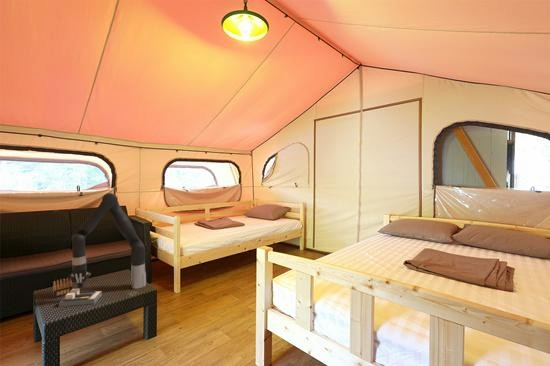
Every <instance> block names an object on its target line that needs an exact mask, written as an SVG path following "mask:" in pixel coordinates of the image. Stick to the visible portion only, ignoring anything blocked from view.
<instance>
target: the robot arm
mask: <svg viewBox="0 0 550 366" xmlns="http://www.w3.org/2000/svg"><path fill="white" fill-rule="evenodd" d="M118 200H119V199H118V196H117V195H116V194H114V193H111V192H108V193H105V194H104V195H102V198H101V202H100V203H99V204H98V206H97V207H96V209H95V210H94V211H93V212H92V213H91V214H90V215H89V217H87V219H86V220H85V221H84V223H82V225H80V227H79V228H78V229H77V230H76V231H75V232H74V233H73V235H72V236H71V244H72V245H71V246H72V250H71V251H72V254H71V255H72V258H71V259H72V260H71V261H72V262H71V264H72V266H71V267H72V272H71V274H69V275H68V279H69V280H70V279H71V280H72V283H76V284H77V289H82V288H83V287H84V282H86V281H87V280H88V278H89V277H90V276H91V275H92V273H91V272H89V271H88V270H87V256H86V237H87V236H88V235H89V233H92V232H93V230H94V229H95V227H96V226H97V225H98V224H99V223H100V221H102V220H101V219H103V217H104V216H105V214H106V213H107V212H108V211H109V213H110V214H111V217H112V220H113V221H114V223H115V226H116V228H117V229H118V231H119V232H120V234H121V235H122V236H123V237H124V238H125V239H126V241H127V243H128V244H129V247H130V258H131V259H130V261H131V263H130V266H131V267H130V268H131V272H130V274H131V277H130V279H131V288H132V289H134V290H136V289H141V288H145V286H146V285H147V272H146V248H145V244H144V243H143V241H142V240H141V239H140V237H139V236H138V234H137V232H136V230H135V227H134V225H133V223H132V221H131V220H130V218H129V216H128V215H127V214H126V213H125V211H124V210H123V209H122V208H121V205H120V203H119V201H118Z"/></svg>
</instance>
